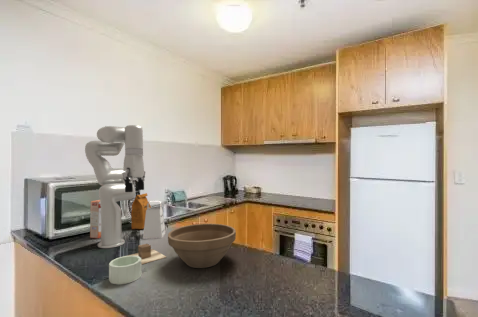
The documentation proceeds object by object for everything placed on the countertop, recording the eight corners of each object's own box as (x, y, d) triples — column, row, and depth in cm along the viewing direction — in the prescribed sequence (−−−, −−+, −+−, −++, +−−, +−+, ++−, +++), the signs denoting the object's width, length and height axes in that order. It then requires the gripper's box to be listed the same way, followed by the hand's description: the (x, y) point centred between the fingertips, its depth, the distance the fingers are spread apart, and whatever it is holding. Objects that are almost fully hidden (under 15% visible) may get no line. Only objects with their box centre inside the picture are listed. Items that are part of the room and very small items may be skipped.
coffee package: (154, 225, 169) (154, 193, 169) (142, 230, 157) (142, 195, 157) (141, 224, 172) (141, 192, 172) (128, 229, 160) (128, 195, 160)
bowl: (105, 277, 94) (105, 260, 94) (134, 268, 101) (134, 253, 101) (115, 287, 86) (115, 269, 86) (145, 277, 93) (145, 261, 93)
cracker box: (98, 238, 141) (98, 201, 141) (89, 238, 142) (89, 201, 142) (115, 232, 155) (115, 197, 155) (107, 231, 156) (107, 197, 156)
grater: (147, 233, 151) (147, 200, 151) (165, 232, 152) (165, 199, 152) (142, 238, 140) (142, 203, 141) (162, 238, 141) (161, 202, 142)
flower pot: (155, 262, 107) (155, 231, 107) (206, 245, 128) (206, 219, 128) (196, 284, 88) (196, 246, 88) (249, 260, 108) (249, 229, 109)
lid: (122, 258, 113) (122, 245, 113) (152, 251, 123) (152, 238, 123) (134, 268, 103) (134, 253, 103) (166, 259, 112) (166, 245, 112)
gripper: (136, 154, 123) (137, 189, 122) (114, 152, 105) (115, 193, 105) (151, 153, 122) (152, 189, 121) (131, 151, 105) (132, 192, 104)
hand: (135, 190), depth 113 cm, fingers open, 9 cm apart
